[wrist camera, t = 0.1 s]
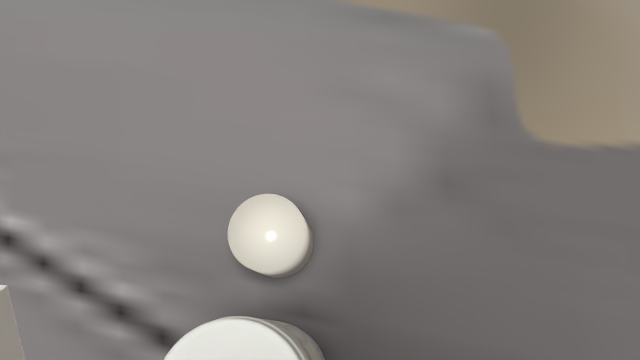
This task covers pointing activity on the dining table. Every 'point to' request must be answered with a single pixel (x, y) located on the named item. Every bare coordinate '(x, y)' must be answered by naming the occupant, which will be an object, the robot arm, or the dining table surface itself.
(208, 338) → the supplement tub
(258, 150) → the dining table surface
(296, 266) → the white cube
